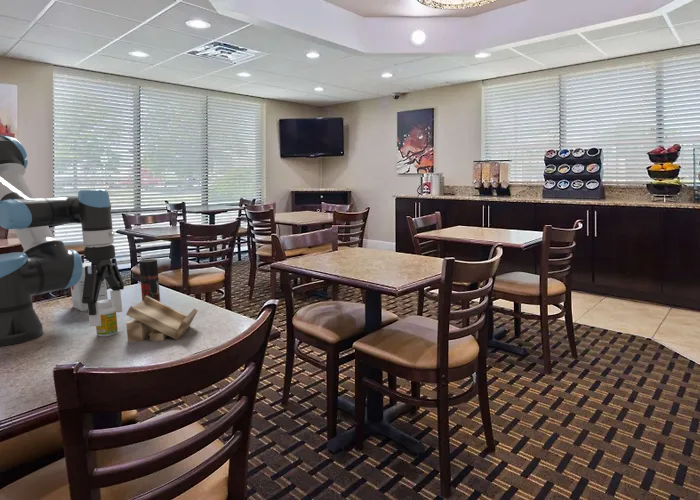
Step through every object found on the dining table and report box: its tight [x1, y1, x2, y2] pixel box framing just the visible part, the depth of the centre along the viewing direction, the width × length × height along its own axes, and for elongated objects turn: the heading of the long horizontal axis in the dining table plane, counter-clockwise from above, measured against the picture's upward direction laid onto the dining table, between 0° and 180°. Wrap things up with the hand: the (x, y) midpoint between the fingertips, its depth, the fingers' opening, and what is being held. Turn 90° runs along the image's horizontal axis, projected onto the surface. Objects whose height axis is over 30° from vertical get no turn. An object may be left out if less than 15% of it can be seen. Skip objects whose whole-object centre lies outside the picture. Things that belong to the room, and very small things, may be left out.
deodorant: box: [138, 258, 161, 302], centre depth 168 cm, size 6×6×15 cm
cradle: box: [125, 295, 199, 342], centre depth 134 cm, size 16×12×10 cm
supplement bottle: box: [95, 299, 119, 337], centre depth 134 cm, size 5×5×10 cm
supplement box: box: [70, 261, 108, 312], centre depth 162 cm, size 9×9×15 cm
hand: (107, 318), depth 134 cm, fingers open, 13 cm apart
